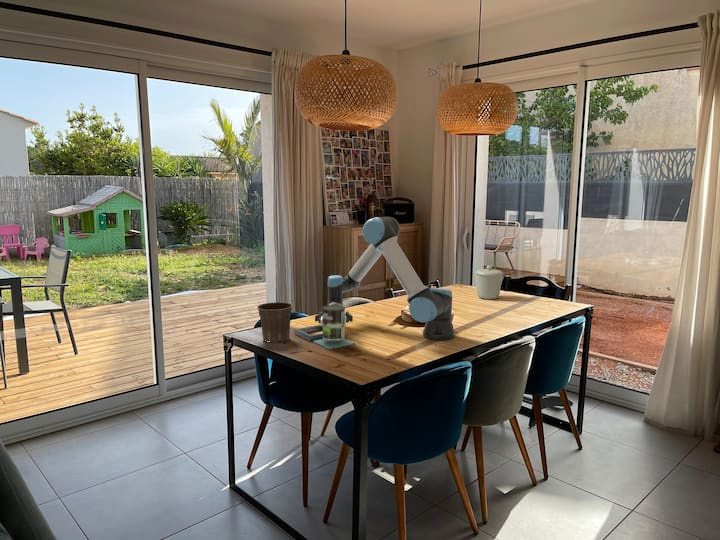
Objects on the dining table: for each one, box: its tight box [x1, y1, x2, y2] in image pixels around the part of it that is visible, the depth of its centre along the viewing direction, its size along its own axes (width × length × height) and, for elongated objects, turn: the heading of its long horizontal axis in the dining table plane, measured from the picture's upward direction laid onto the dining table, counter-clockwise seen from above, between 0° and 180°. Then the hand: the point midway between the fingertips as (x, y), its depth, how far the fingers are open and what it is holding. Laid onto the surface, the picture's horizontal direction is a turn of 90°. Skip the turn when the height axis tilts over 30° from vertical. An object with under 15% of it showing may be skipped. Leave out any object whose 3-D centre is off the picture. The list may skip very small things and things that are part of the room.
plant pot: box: [256, 301, 293, 343], centre depth 251 cm, size 16×16×16 cm
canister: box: [474, 264, 504, 300], centre depth 343 cm, size 18×18×21 cm
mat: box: [312, 337, 356, 350], centre depth 246 cm, size 14×14×1 cm
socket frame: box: [293, 324, 323, 343], centre depth 259 cm, size 15×15×2 cm
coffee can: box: [321, 304, 346, 341], centre depth 245 cm, size 10×10×14 cm
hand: (333, 322), depth 241 cm, fingers closed on coffee can, 10 cm apart
